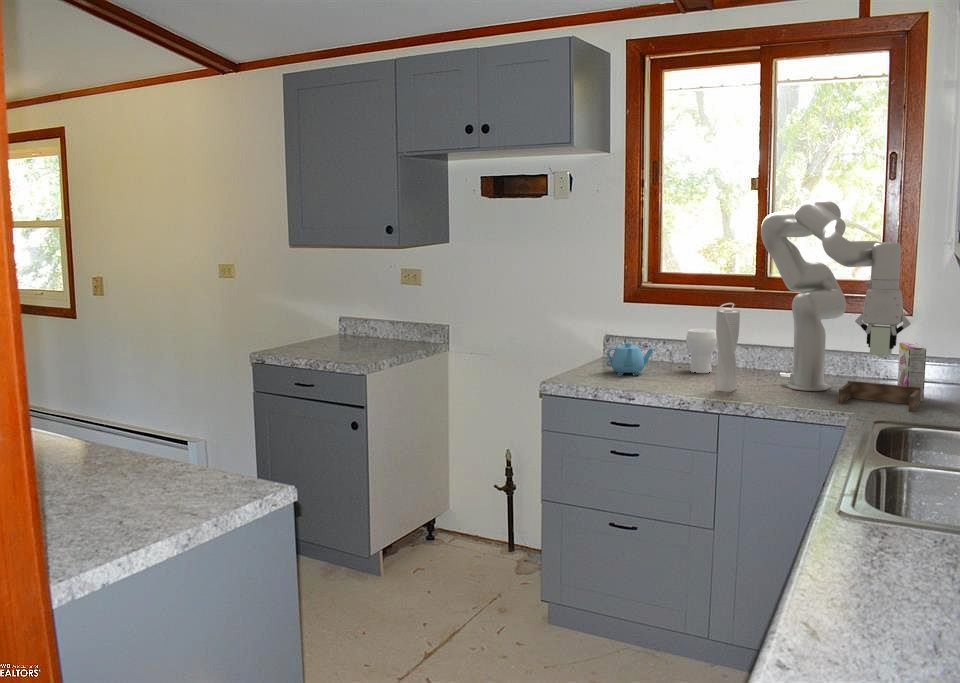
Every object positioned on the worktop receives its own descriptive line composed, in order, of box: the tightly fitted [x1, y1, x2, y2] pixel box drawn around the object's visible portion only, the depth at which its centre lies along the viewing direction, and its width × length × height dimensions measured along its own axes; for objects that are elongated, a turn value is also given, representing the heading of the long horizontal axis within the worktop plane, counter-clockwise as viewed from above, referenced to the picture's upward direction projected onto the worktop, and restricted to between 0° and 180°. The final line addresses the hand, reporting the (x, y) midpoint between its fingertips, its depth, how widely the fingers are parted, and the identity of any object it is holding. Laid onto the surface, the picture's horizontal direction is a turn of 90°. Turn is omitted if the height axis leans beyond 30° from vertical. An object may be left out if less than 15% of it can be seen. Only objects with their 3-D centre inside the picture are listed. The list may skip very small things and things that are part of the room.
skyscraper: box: [714, 302, 741, 393], centre depth 272 cm, size 8×8×28 cm
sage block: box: [869, 325, 893, 356], centre depth 247 cm, size 5×5×8 cm
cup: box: [685, 328, 717, 374], centre depth 305 cm, size 11×11×15 cm
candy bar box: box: [897, 341, 927, 403], centre depth 257 cm, size 11×5×16 cm, turn 168°
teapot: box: [606, 341, 654, 376], centre depth 304 cm, size 15×14×11 cm
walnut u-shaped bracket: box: [837, 380, 921, 413], centre depth 250 cm, size 20×12×5 cm, turn 54°
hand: (881, 346), depth 247 cm, fingers closed on sage block, 5 cm apart
